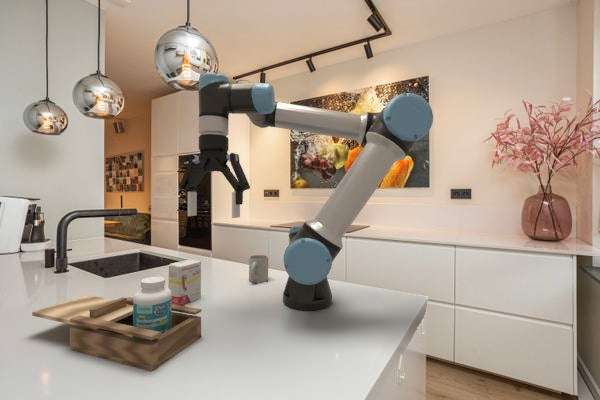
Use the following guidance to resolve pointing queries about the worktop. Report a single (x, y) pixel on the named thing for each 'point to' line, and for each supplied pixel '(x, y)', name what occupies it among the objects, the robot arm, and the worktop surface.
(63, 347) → the worktop surface
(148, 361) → the box
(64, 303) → the lid
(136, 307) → the pill bottle
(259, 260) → the cup
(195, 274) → the ink box
